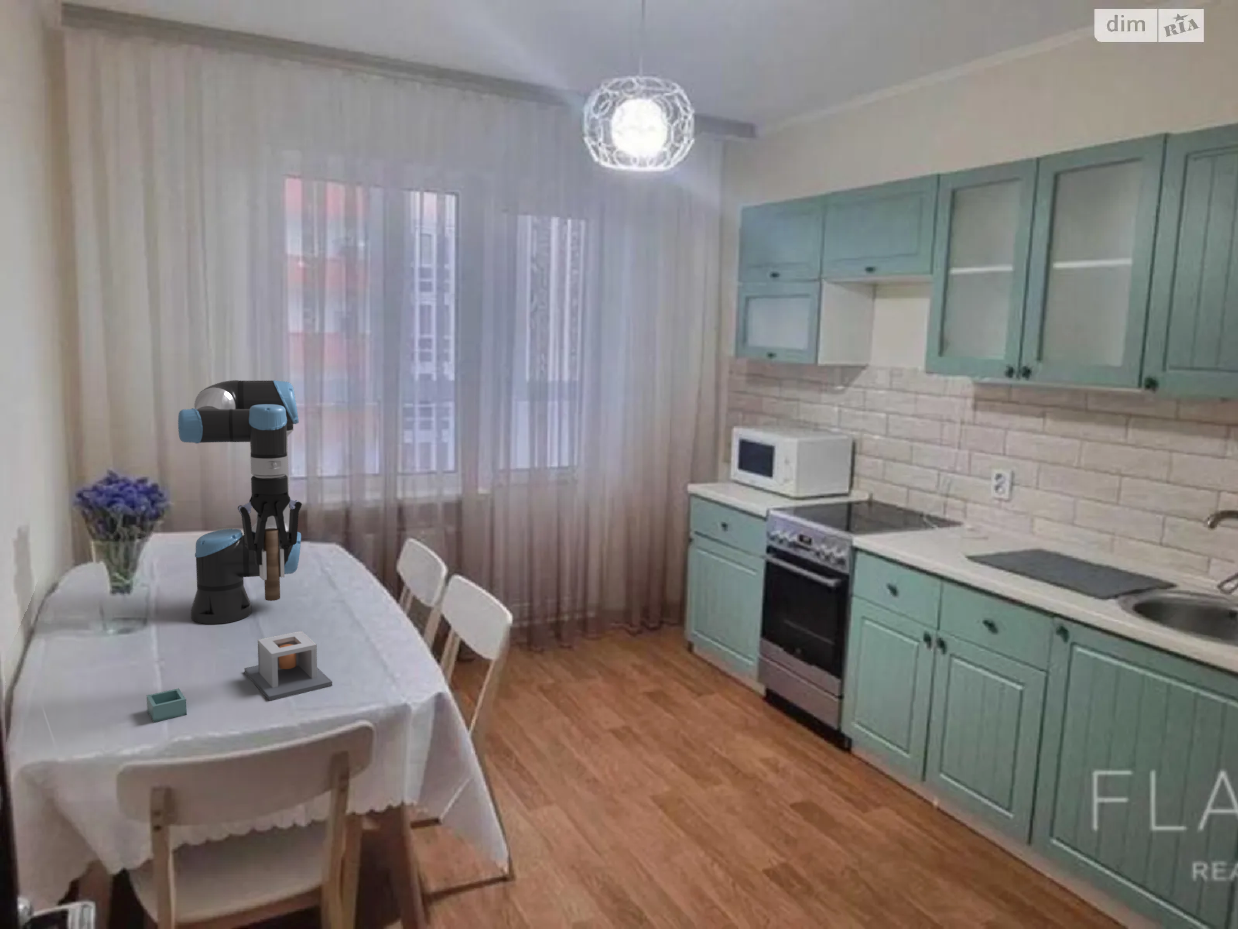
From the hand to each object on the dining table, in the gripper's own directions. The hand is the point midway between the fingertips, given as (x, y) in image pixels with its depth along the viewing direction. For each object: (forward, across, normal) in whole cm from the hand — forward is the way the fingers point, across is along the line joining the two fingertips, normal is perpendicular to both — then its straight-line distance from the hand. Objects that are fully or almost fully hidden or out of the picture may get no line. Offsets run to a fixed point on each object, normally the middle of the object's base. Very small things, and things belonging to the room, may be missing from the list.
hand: (272, 576), depth 193 cm
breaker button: (+22, +3, -1) cm, 22 cm away
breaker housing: (+25, +3, -1) cm, 25 cm away
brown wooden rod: (+5, 0, 0) cm, 5 cm away
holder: (+25, -23, -4) cm, 34 cm away
